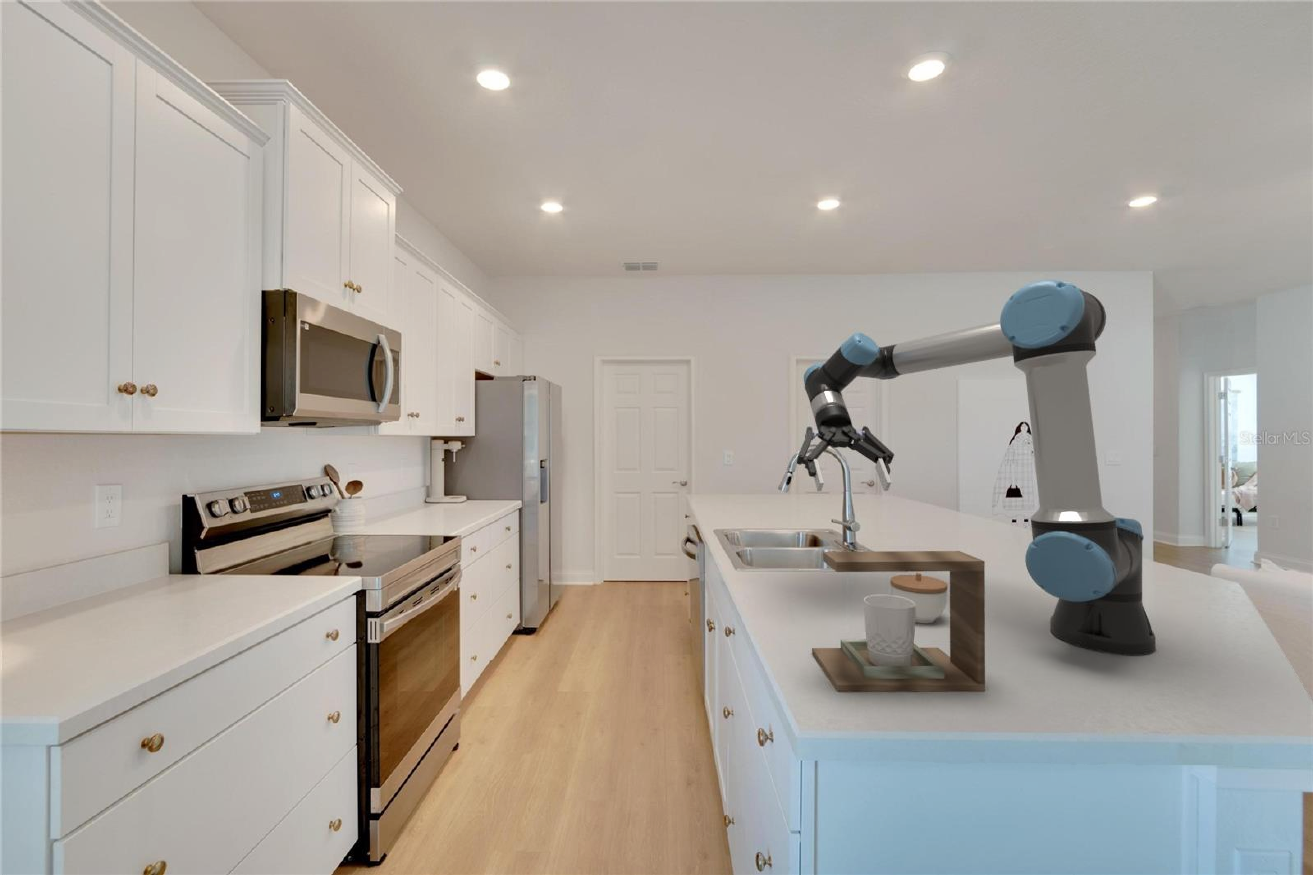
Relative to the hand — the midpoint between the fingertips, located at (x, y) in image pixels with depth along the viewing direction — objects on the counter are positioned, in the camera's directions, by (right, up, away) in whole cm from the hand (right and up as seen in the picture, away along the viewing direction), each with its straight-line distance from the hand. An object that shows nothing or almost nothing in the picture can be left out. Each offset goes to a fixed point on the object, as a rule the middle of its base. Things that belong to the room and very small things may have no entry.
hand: (854, 487), depth 111 cm
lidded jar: (+14, -28, +2) cm, 31 cm away
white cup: (-2, -27, -21) cm, 35 cm away
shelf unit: (-2, -28, -22) cm, 36 cm away
